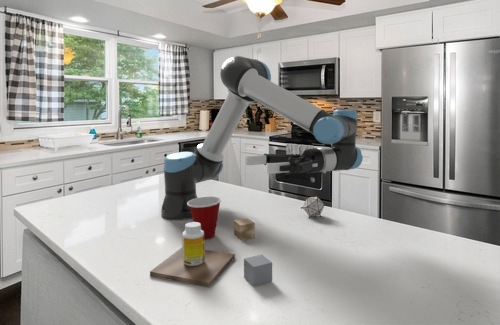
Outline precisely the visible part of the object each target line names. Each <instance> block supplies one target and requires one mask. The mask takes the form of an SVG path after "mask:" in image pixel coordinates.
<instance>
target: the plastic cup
mask: <svg viewBox="0 0 500 325" xmlns="http://www.w3.org/2000/svg"><path fill="white" fill-rule="evenodd" d="M221 202H222V199H221V198H220V197H218V196H213V195H212V196H200V197H198V198H195V199H192V200H190V201H188V202H187V205H188V206H189V208H190V210H191V214H192V218H191V219H192V222H198V223H200V224H201V230H202V231H203V232H204V240H209V239H210V240H211V239H213V238H214V237H215V235H216V229H217V224H218V217H219V210H220V204H221Z"/></svg>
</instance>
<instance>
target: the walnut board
mask: <svg viewBox="0 0 500 325" xmlns="http://www.w3.org/2000/svg"><path fill="white" fill-rule="evenodd" d="M204 253H205V260H204V262H203V263H202V264H200V265H197V266H188V265H186V264H184V262H183V247H182V246H181V248H179V249H178V250H176V251H175V252H174V253H172V254H171V255H170V256H169V257H167V258H166V259H164V260H163V261H162V262H161V263H160V264H158V265H156V266H155V267H154V268H152V269H151V270H150V271H149V277H153V278H159V279H163V280H168V281H169V280H170V281H174V282H180V283H184V284H185V283H186V284H190V285H196V286H202V287H206V288H210V287H211V286H212V285H213V284H214V283H215V281H217V279H218V278H219V277H220V276H221V275H222V274H223V273H224V271H226V269H227V268H228V267H229V265H230V264H231V263H232V262H233V261H234V259H236V257H235V256H236V254H235V253H229V252H223V251H216V250H209V249H204Z"/></svg>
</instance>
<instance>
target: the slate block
mask: <svg viewBox="0 0 500 325" xmlns="http://www.w3.org/2000/svg"><path fill="white" fill-rule="evenodd" d="M243 278H244V279H245V280H246V281H247V283H249V284H250V285H251V287H252V288H254V287H258V286H262V285H266V284H269V283H272V282H273V262H272V261H271V260H270V259H268V257H266V256H265V255H264V254H257V255H254V256H249V257H245V258H243Z"/></svg>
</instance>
